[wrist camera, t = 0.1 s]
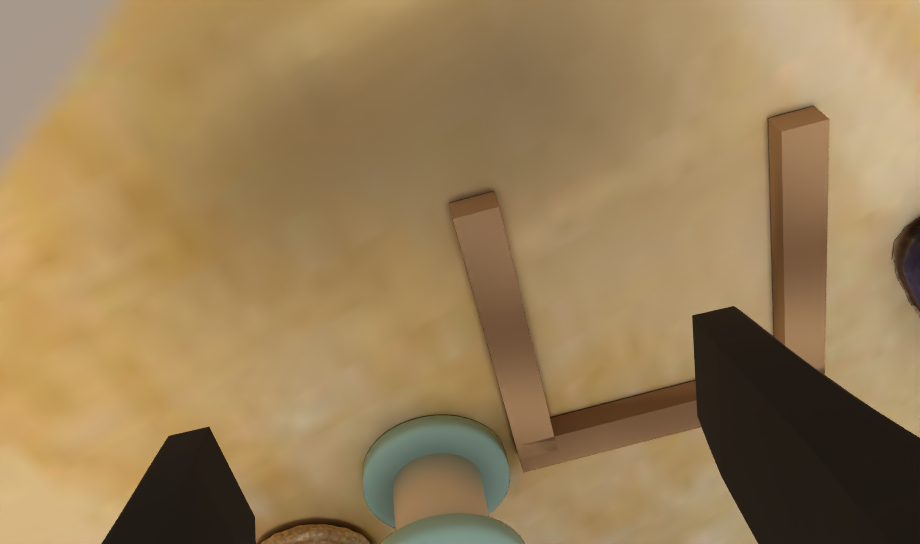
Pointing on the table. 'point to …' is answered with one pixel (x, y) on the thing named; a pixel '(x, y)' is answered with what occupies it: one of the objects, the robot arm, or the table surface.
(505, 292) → the u-shaped brown frame
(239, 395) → the table surface
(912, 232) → the flask
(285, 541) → the spice jar
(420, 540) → the bobbin
